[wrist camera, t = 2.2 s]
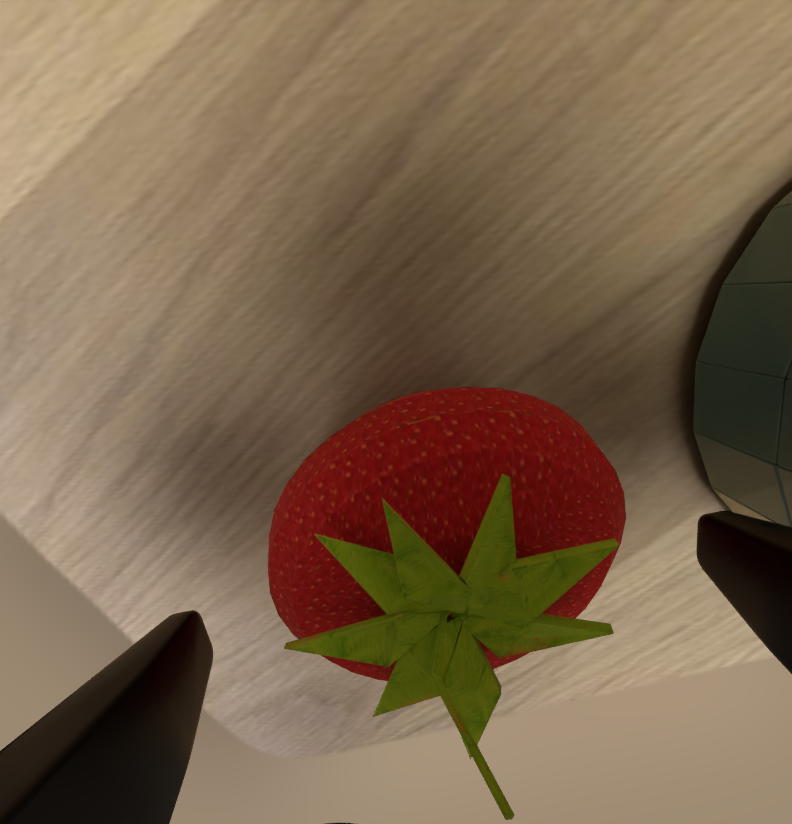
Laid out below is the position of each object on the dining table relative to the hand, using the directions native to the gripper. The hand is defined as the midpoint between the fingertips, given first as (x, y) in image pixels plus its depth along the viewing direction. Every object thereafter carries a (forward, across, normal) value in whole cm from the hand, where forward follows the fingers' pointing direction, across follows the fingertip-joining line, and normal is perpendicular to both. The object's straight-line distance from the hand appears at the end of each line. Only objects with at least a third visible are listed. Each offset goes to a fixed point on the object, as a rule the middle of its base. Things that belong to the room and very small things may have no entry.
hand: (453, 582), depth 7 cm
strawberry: (+7, 0, 0) cm, 7 cm away
